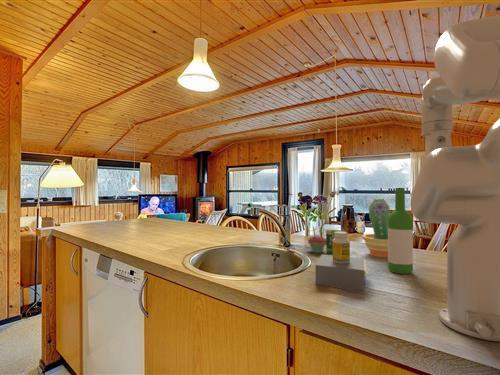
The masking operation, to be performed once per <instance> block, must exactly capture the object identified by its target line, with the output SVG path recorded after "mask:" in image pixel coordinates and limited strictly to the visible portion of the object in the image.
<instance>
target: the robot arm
mask: <svg viewBox="0 0 500 375" xmlns="http://www.w3.org/2000/svg"><path fill="white" fill-rule="evenodd" d="M433 54H434V56H433V59H434V60H433V61H434V67H435V70H436V71H437V73H438V75H439V77H432V78H430V79H429V80H427V81H426V83H425V85H423V86H422V91H421V137H425V141H424V142H425V143H424V145H425V146H424V147H425V148H424V150H425V151H424V161H423V163H422V165H421V168H420V170H419V173H418V176H417V178H416V181H415V183H414V186H413V189H412V191H411V195H410V202H409V203H410V204H409V207H410V212H411V213H412V216H414V218H415V219H417V221H420V222H422V223H427V224H428V223H429V224H446V225H447V224H450V225H451V224H453V225H458V226H457V227H456V228H455V230H454V231H453V232H452V233H451V234H450V236H449V238H448V241H447V243H446V244H447V245H446V278H447V279H446V281H447V282H446V294H447V295H446V296H447V298H446V299H447V300H446V302H447V303H446V306H447V307H445V308H442V309H440V310H439V311H438V318H439V320H440V321H441V322H442V323H443V324H444V325H446V326H447V327H448V328H450V329H452V330H454V331H456V332H459V333H460V334H464V335H466V336H469V337H473V338H475V339H480V340H485V341H492V342H500V118H499V119H497V121H495V122H494V123H493V124H492V125H491V126H490V128H489V129H488V132H487V133H486V135H485V137H484V139H483V140H482V141H481V142H480V143H477V144H473V145H460V146H459V145H458V146H453V145H452V144H453V143H452V137H451V136H452V134H453V128H454V127H453V106H454V105H465V104H468V105H469V104H475V103H478V102H481V101H490V100H491V101H492V100H500V15H494V16H489V17H482V18H477V19H476V18H475V19H470V20H465V21H459V22H457V23H454V24H453V25H451V26H449V28H447V29H446V30H445V31H444V32H443V33H442V35H441V36H440V38H439V39H438V41H437V44H436V46H435V50H434V53H433Z"/></svg>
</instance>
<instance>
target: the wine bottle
mask: <svg viewBox="0 0 500 375" xmlns="http://www.w3.org/2000/svg"><path fill="white" fill-rule="evenodd" d="M405 191H406V189H405V187H395V191H394V194H395V195H394V196H395V198H394V199H395V203H394V206H395V208H394V210H393V211H392V212H390V215H389V218H388V257H387V268H388V270H389V271H391V272H392V273H394V274H400V275H409V274H412V273H413V271H414V230H413V229H414V226H413V225H414V224H413V223H414V221H413V217H412V216H411V214H410V213H409V212H408V211H407V210H406V192H405Z"/></svg>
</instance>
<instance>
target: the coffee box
mask: <svg viewBox="0 0 500 375" xmlns="http://www.w3.org/2000/svg"><path fill="white" fill-rule="evenodd" d="M338 231H341V232H347V233H348V231H347V229H345V230H344V229H342V230H339V229H326V230H325V239H326V245H325V247H326V248H325V249H326V255H333V246H332V241H333V239H334V238H335V236H334V232H338Z"/></svg>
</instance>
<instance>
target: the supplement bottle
mask: <svg viewBox="0 0 500 375" xmlns="http://www.w3.org/2000/svg"><path fill="white" fill-rule="evenodd" d="M334 236H335V238H334V239H333V241H332V246H333V261H334V262H335V263H340V264H347V263H349V262H350V257H351V256H350V255H351V252H350V251H351V246H350V245H351V244H350V243H351V242H350V239H349V238H348V231H347V232H341V231H338V232H334Z"/></svg>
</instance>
